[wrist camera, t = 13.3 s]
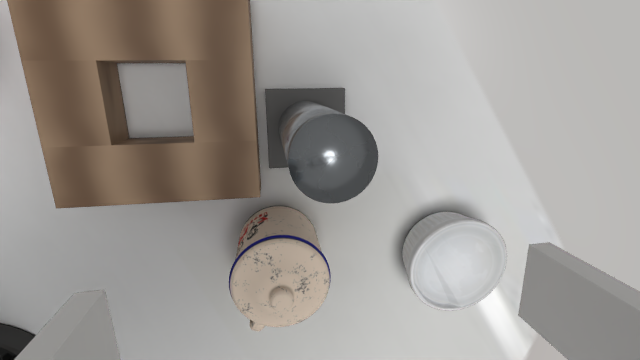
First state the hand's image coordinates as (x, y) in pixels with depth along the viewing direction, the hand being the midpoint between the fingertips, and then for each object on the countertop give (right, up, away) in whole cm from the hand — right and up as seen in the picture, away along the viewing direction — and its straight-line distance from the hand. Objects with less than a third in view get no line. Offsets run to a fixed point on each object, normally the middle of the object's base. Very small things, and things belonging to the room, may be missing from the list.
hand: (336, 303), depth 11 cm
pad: (-2, +9, +25) cm, 27 cm away
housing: (-16, +11, +22) cm, 30 cm away
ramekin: (+14, -4, +32) cm, 35 cm away
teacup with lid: (-6, -4, +29) cm, 30 cm away
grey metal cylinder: (-2, +9, +25) cm, 26 cm away
